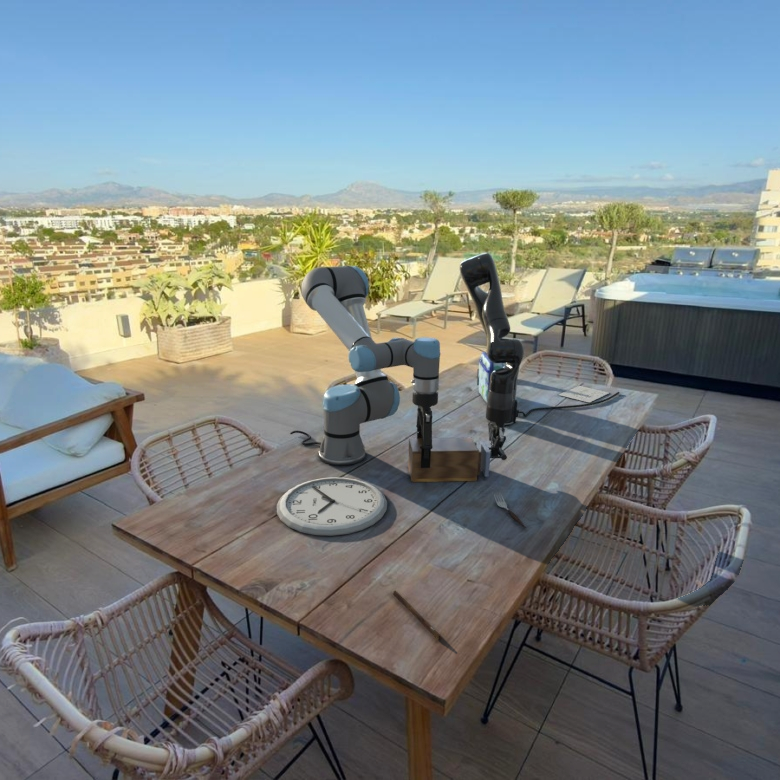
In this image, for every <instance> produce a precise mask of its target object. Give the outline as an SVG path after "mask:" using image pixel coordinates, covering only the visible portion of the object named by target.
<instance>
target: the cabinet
mask: <svg viewBox="0 0 780 780" xmlns="http://www.w3.org/2000/svg"><path fill="white" fill-rule="evenodd" d="M474 442H475V441H474V439H473V437H469V436H467V437H432V449H431V457H430V468H421V449H420V446H422V438H417V437H409V438H408V461H407V463H408V465H407V467H408V472H409V476H410V477H409V478H410V481H411V483H430V482H431V483H432V482H435V483H436V482H477V481H478V475H477V471H478V457H479V447H478V446H477V445H476V444H475V443H474Z"/></svg>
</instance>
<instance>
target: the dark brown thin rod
mask: <svg viewBox="0 0 780 780" xmlns="http://www.w3.org/2000/svg"><path fill="white" fill-rule="evenodd" d="M392 595H393V596H394V597H395V598H396V599H397V600H398V601H399V602H400V603H401V604H402V605H403V606H404V607H405V608H406V609H407V610H408V612H410V613H411V614H412V615H413V616H414V618H416V619H417V620H418V621H419V622H420V623H421V624H422V625H423V626H424V628H426V629H427V630H428V631H429V633H430V634H431V635H432V636H433V637H434V638H435V639H436V640H437V641H439V640H441V635H440V634H439V633H438V631H436V629H435V628H434V627H433V626H432V625H431V624H430V623H429V622H428V621H427V620H426V619H425V618H424V617H423V616H422V615H421V614H420V613H419V612H418V611H417V610H416V609H415V608H414V607H413V606H412V605H411V604H410V603H409V602H408V601H407V600H406V599H405V598H404V597H403V596H402V595H401V593H399V592H398V591H397V590H394V591H393V593H392Z"/></svg>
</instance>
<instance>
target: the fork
mask: <svg viewBox="0 0 780 780" xmlns="http://www.w3.org/2000/svg"><path fill="white" fill-rule="evenodd" d="M497 494H498V495H497ZM493 497H494V499H495V503H496V505H497V506H498V507H499V508H502V509H505V510H507V512H508V514H509V515H510V517H511V518H513V519H514V521H516V522H517V523H518V524H519V525H521V526H522V527H523V528H524V529H526V525H524V523H523V522H522V521H521V520H520V518H519V517H518V516H517V515H516V514H515V513H514V512H513V511H511V509H509V508H508V504H507V502H506V501H505V499H504V497H503V495H502V493H499V492H498V493H495V494H493Z"/></svg>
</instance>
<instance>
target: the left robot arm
mask: <svg viewBox="0 0 780 780" xmlns="http://www.w3.org/2000/svg"><path fill="white" fill-rule="evenodd" d="M369 288H370V283H369V279H368V277H367V275H366V273H365V271H363V269H362V268H360V267H358V266H355V265H341V266H318V267H314V268H312V269H311V270H310V271H308V272H307V273H306V275H305V276H304V277H303V279H302V282H301V295H302V298H303V301H304V302H305V304H306V305H307V307H308V308H309V309H310V310H312V311H314V312H316V313H318V315H319V316H320V317H321V319H322V320H323V321H324V322H325V323H326V325H327V326H328V327H329V328H330V329H331V331H332V332H333V333H334V334H335V335H336V337H337V338H338V340H340V341H341V343H342V344H343V346H345V348H346V349H347V350H348V351H349V352H348V362H349V364H350V367H351V369H352V370H353V371H354V373H355V376H356V381H354V384H351V383H349V384H339V385H334V386H332V387H330V388H328V389H327V390H326V391H325V392H324V394H323V401H322V409H323V437H322V439H321V441H312V442H308V441H310V440H311V439H312V436H311V435H310V434H309V433H308V432H305V431H302V430H292V431H291V432H290V433H289V434H290V435H293V434H302V435H304V436H306V437H307V438H305V439H303V440H301V442H300V443H301V445H302V446H312V445H313V446H314V445H320V446H319V449H318V458H319V460H320V461H321V462H322V463H325V464H327V465H331V466H340V467H341V466H342V467H343V466H350V465H355V464H358V463H360V462H362V461H363V460H364V459H365V458H366V446H365V444H364V441H363V439H362V437H361V432H360V431H361V430H360V429H361V424H364V423H369V422H372V421H377V420H380V419H381V420H382V419H386V418H388V417H392V416H393V415H395V413H397V411H398V409H399V406H400V402H401V397H400V396H401V395H400V390H399V388H398V386H397V385H396V384H395V383H394V382H392V381H389V378H388V375H387V374H385V373H384V372H382V369H388V368H393V367H399V366H405V367H408V368H412V370H413V372H412V373H413V374H412V377H413V379H411V380H410V383H411V384H412V390H413V391H412V404H413V405H415V406H417V412H416V413H417V415H416V425H415V427H416V432H417V433H416V438H422V446H420V449H421V468H430V457H431V449H432V438H433V417H434V416H433V410H432V408H431V407H434V406H436V405H438V402H439V392H438V391H439V387H440V361H441V360H440V359H441V343H440V340H439V339H437V338H435V337H429V336H421V337H417V338H415V339H414V341H413V340H409V339H407V338H404V337H393V338H391V339H390V340H388V341H386V342H377V343H376V342H375V341H374V340H373V336H372V333H371V329H370V326H369V323H368V317H367V315H366V311H365V307H364V305H365V304H366V302H367V296H368V295H369V291H370V290H369Z"/></svg>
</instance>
